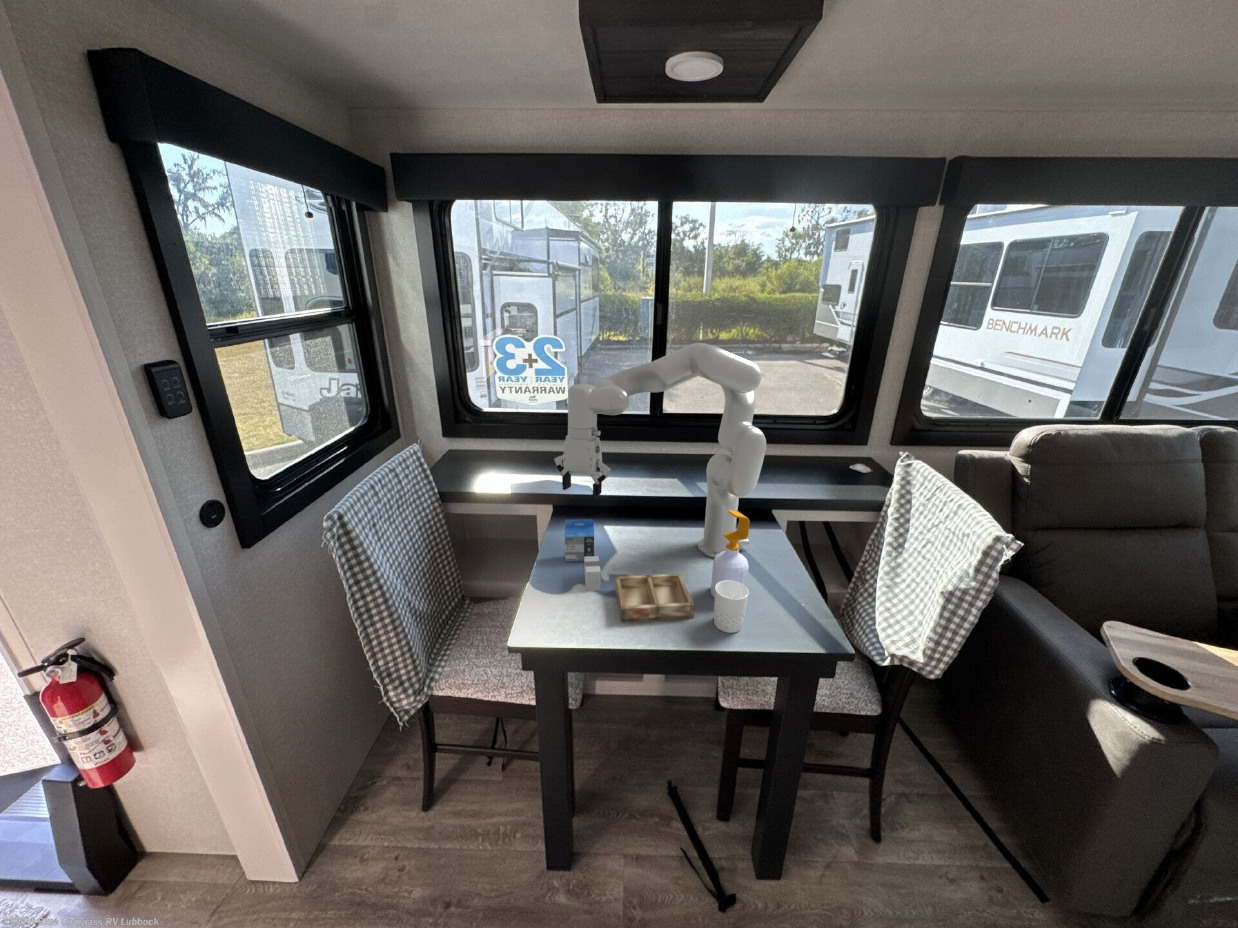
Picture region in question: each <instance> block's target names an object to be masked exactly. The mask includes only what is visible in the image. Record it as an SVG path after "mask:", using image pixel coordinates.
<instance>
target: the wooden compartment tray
mask: <svg viewBox="0 0 1238 928" xmlns="http://www.w3.org/2000/svg"><path fill="white" fill-rule="evenodd" d="M614 577H615V578H614V579H615V584H614V585H615V587H614V589H615V590H614V591H615V595H616V601H617V605H618V612H619V616H620V622H621V624H622V623H638V622H639V623H640V622H654V621H655V622H656V621H668V620H685V619H686V620H687V619H688V620H689V619H694V613H695V612H694V609H695V603H694V602H693V598H692V596H691V594H690V592H689V590H688V588H687V585H686V583H685V580H684V578H683V575H682V574H681V573H667V574H666V573H664V574H663V573H662V574H648V575H646V574H644V575H642V574H641V575H627V576H626V575H625V576H623V575H622V576H614Z"/></svg>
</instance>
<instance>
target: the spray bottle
mask: <svg viewBox="0 0 1238 928" xmlns="http://www.w3.org/2000/svg"><path fill="white" fill-rule="evenodd" d="M728 512H729V513H730V514H732V515H733V516H734V517H737V519H738V526H737V529H735V531H734V532H728V533H724V534H723V536H724V537H725V538H726V539H728V540H729V541H730V543H728V544H727V545H726V551H723V552H721V553H719V554H717V555H716V557H715V558H713V562H712V563H713V564H712V573H711V584H710V594H711V596H712V597H713V598H714V599H715V586H716V584H717V583H718V582H721V581H725V580H731V581H736V582H739V583H741V584H743V585H745V586H746V587H747V583H748V574H749V567H750V566H749V562H748V559H747V558H746V557H745V556H744V555H743V554H742V553H740V545H738V544H736V543H737V542H739V540H744V539H748V536H749V531H750V524H751V521H750V519H749V518H748V517H747V516H745V515H744V514H743V513H741V511H739V510H737V511H733V510H728Z"/></svg>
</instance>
